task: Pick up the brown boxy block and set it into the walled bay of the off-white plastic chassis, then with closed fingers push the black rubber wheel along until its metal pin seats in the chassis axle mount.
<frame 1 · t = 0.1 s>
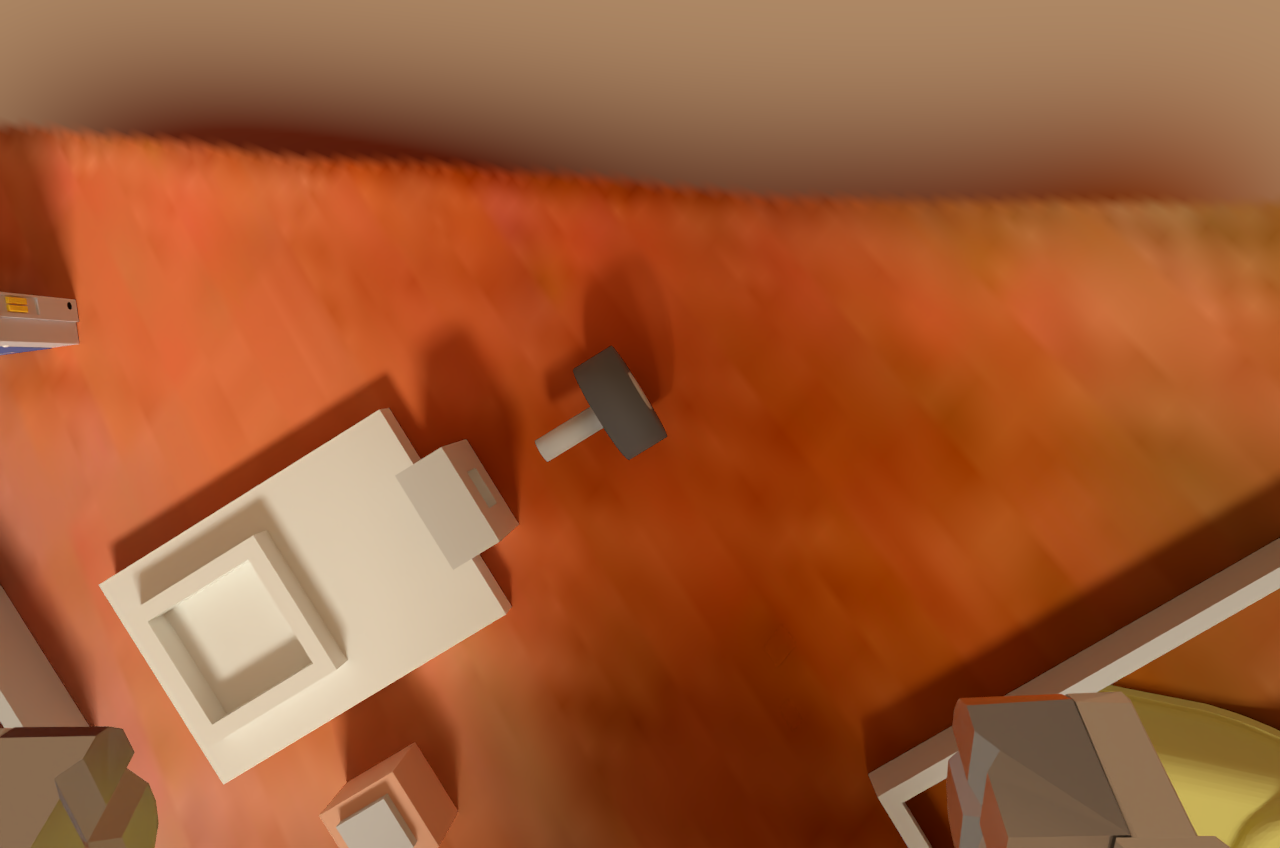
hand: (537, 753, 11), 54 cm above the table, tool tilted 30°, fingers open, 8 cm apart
walkman: (19, 329, 67), on the table
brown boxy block: (402, 796, 67), on the table
wheel: (591, 420, 62), point 3 cm above the table, slide at 0.0 cm
chassis: (312, 592, 67), on the table
plastic component: (1172, 808, 65), on the table, touching sorting frame a
sorting frame a: (1167, 806, 65), on the table
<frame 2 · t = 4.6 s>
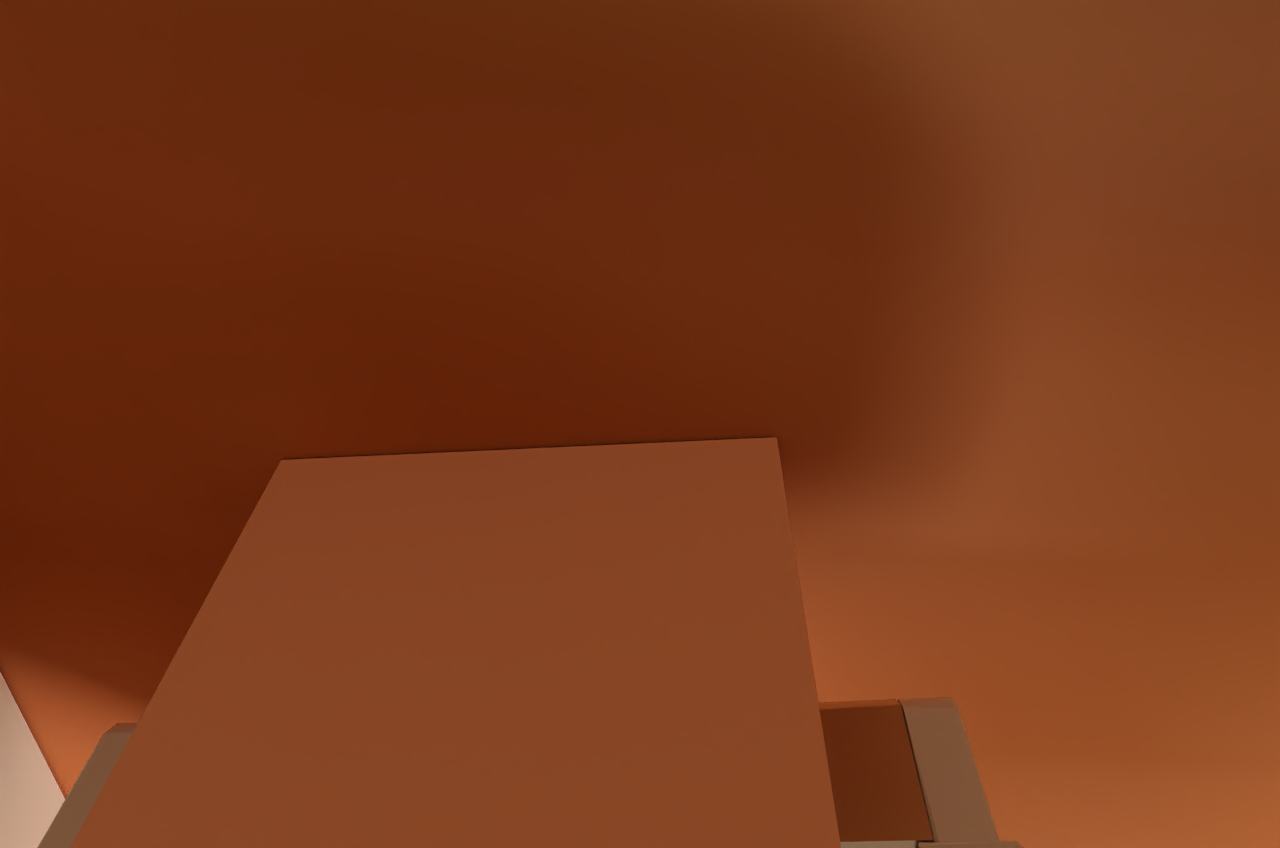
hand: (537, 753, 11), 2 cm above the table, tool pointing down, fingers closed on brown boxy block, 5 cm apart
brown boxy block: (553, 635, 12), on the table, touching gripper
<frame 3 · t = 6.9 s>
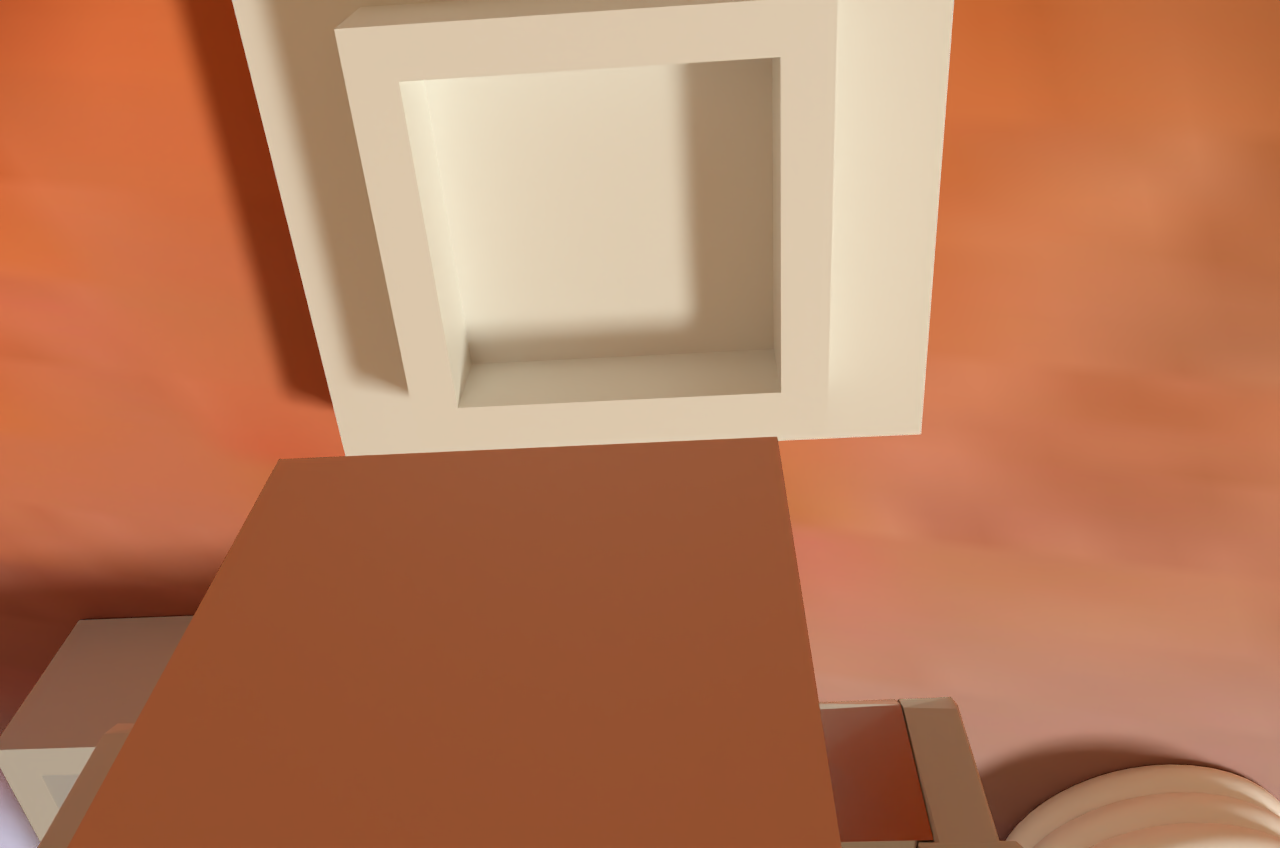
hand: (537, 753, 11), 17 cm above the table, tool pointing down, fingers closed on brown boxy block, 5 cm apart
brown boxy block: (552, 636, 12), point 15 cm above the table, touching gripper
sorting frame b: (430, 822, 37), on the table
when the fingers open (6 cm above the table, at t = 9.3 s): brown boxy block drops 2 cm, resting on chassis.
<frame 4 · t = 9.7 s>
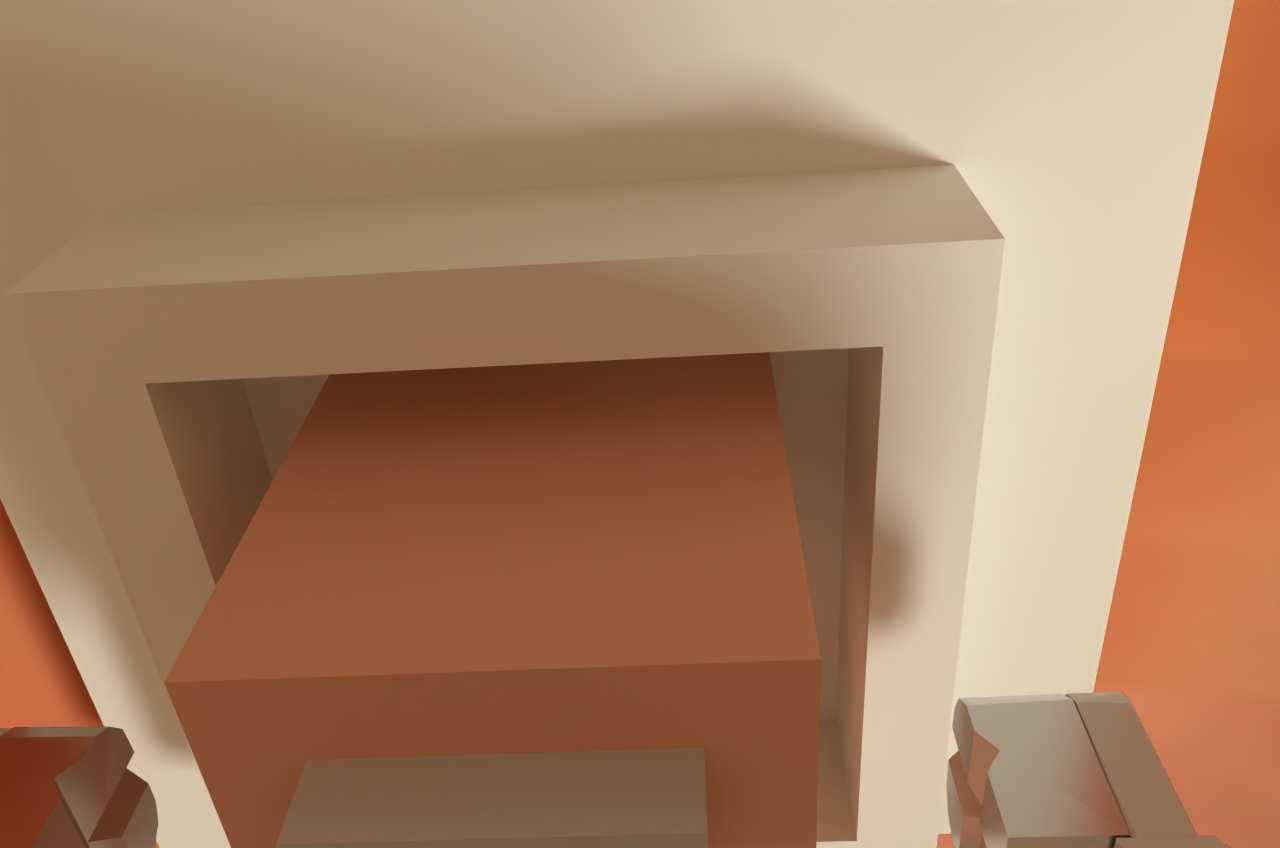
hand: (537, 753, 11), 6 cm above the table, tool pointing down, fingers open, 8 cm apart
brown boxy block: (570, 532, 14), point 2 cm above the table, touching chassis
chassis: (542, 173, 13), on the table
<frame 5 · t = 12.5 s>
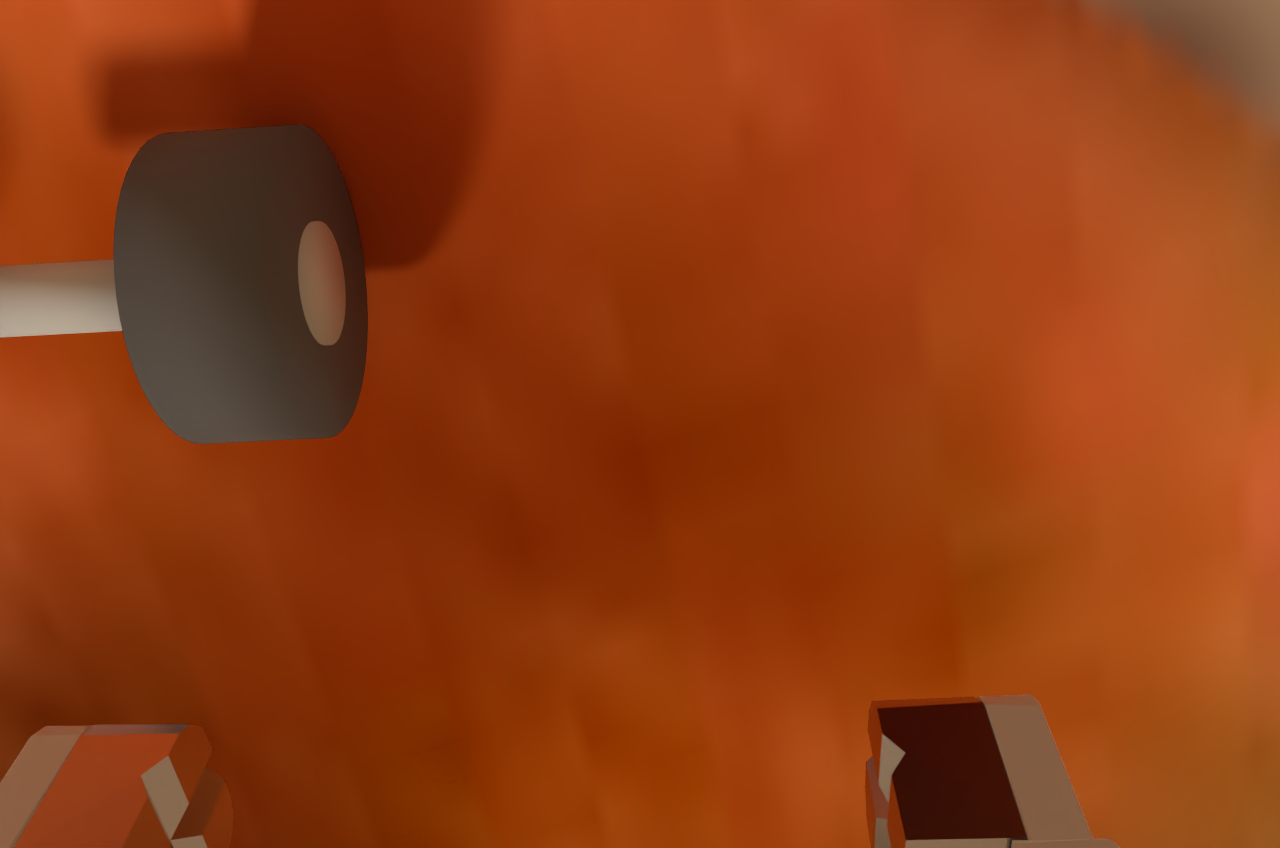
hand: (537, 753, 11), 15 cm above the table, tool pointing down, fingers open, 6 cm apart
wheel: (160, 292, 22), point 3 cm above the table, slide at 0.0 cm
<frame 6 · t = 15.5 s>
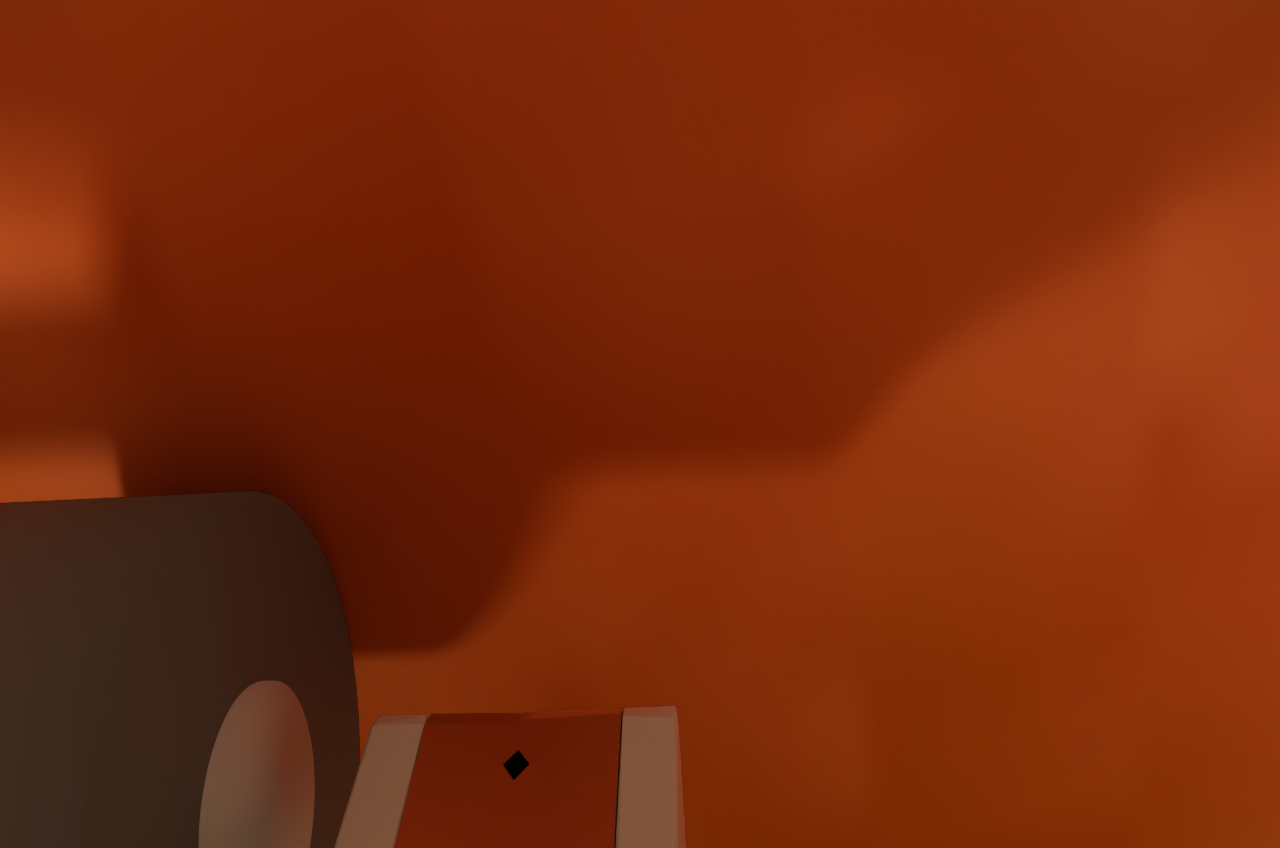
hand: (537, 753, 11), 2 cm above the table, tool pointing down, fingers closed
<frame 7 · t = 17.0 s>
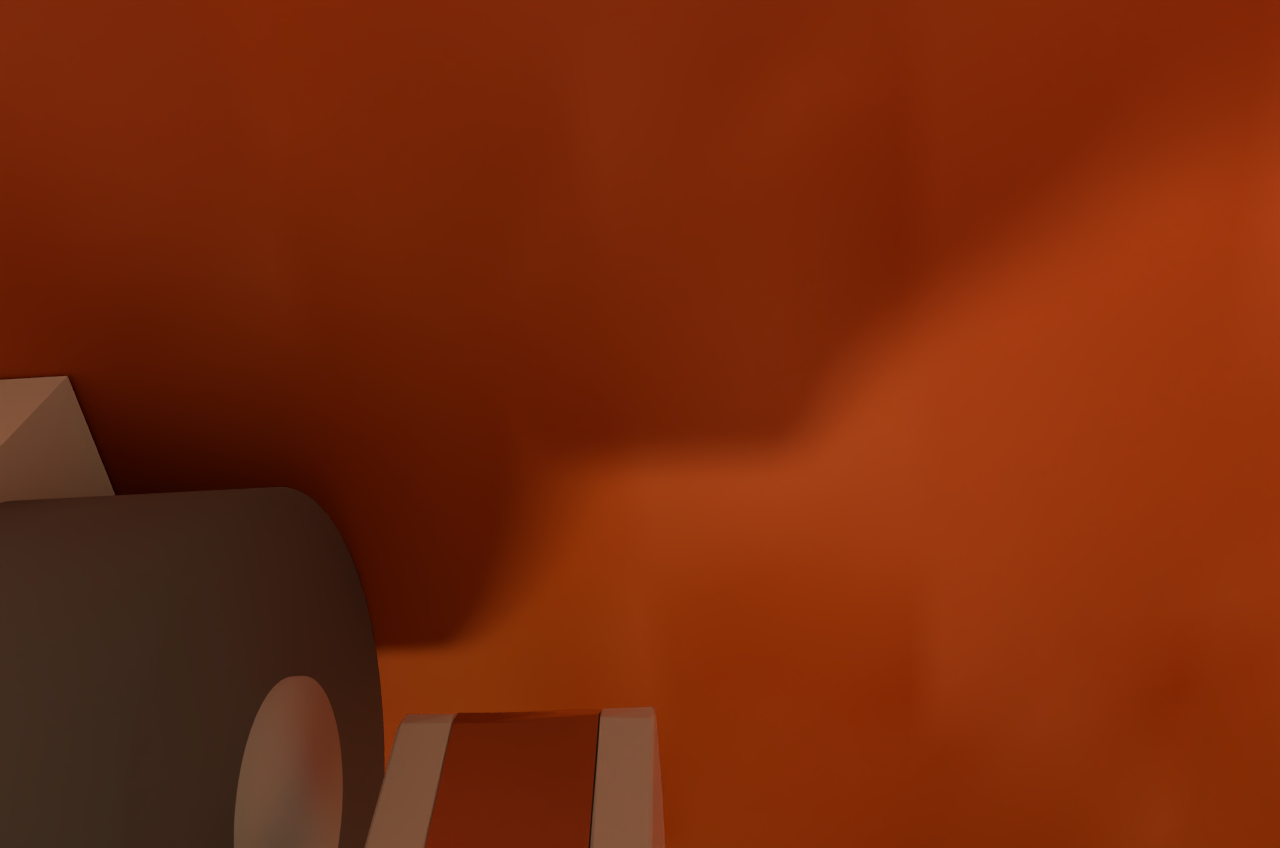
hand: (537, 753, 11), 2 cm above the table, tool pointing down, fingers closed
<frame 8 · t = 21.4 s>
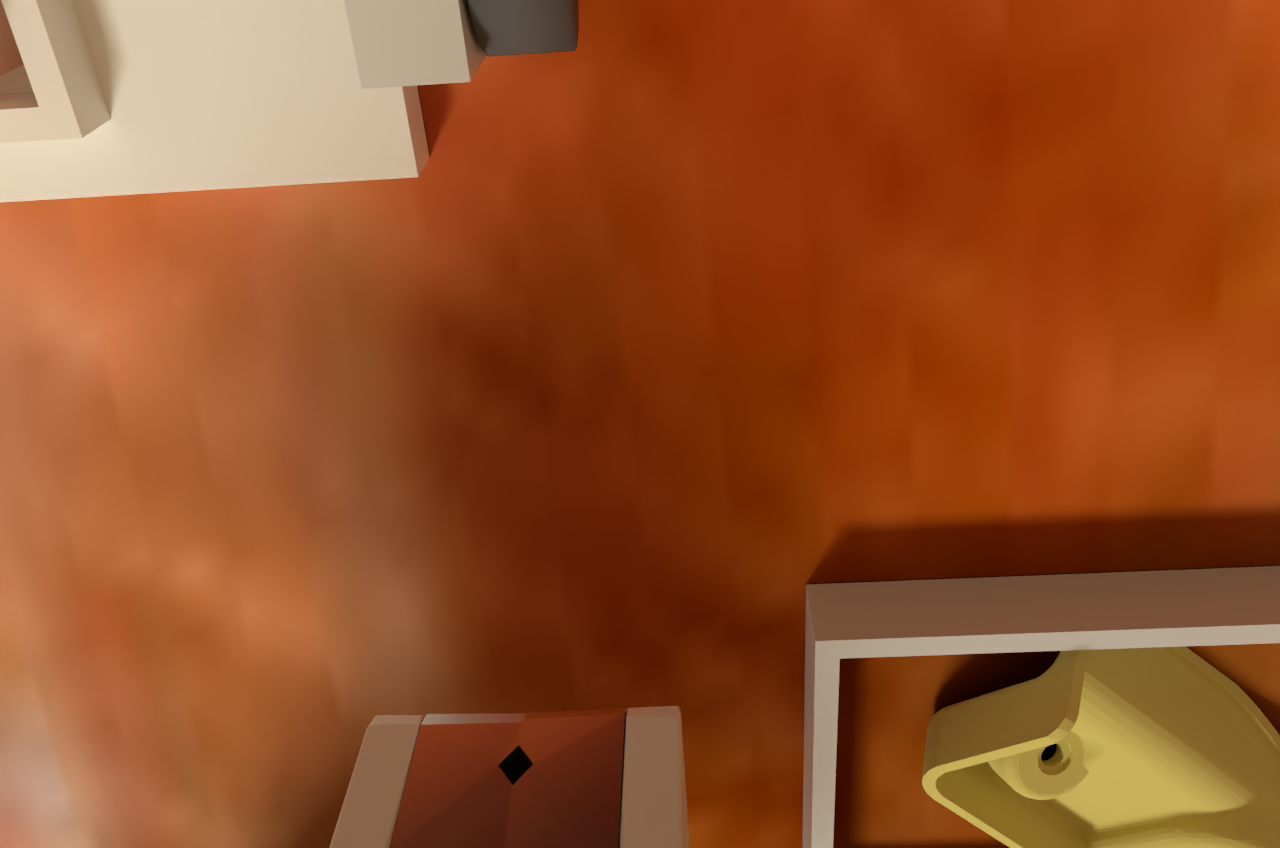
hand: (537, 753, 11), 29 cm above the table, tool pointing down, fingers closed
plastic component: (1102, 743, 53), on the table, touching sorting frame a
sorting frame a: (1102, 745, 52), on the table
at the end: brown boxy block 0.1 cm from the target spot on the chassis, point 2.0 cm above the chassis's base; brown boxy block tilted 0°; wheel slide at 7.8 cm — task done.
